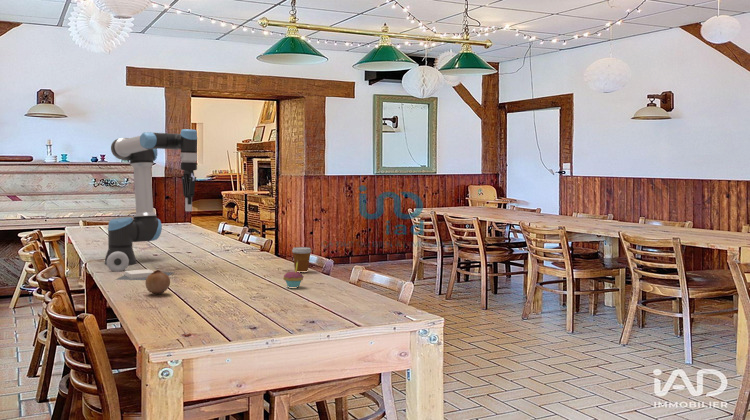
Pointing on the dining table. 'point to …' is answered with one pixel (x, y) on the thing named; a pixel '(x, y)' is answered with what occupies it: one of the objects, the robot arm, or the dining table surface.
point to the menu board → (138, 273)
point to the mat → (139, 278)
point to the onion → (157, 282)
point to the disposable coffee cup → (301, 258)
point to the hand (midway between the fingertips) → (188, 211)
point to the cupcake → (293, 278)
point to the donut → (114, 256)
